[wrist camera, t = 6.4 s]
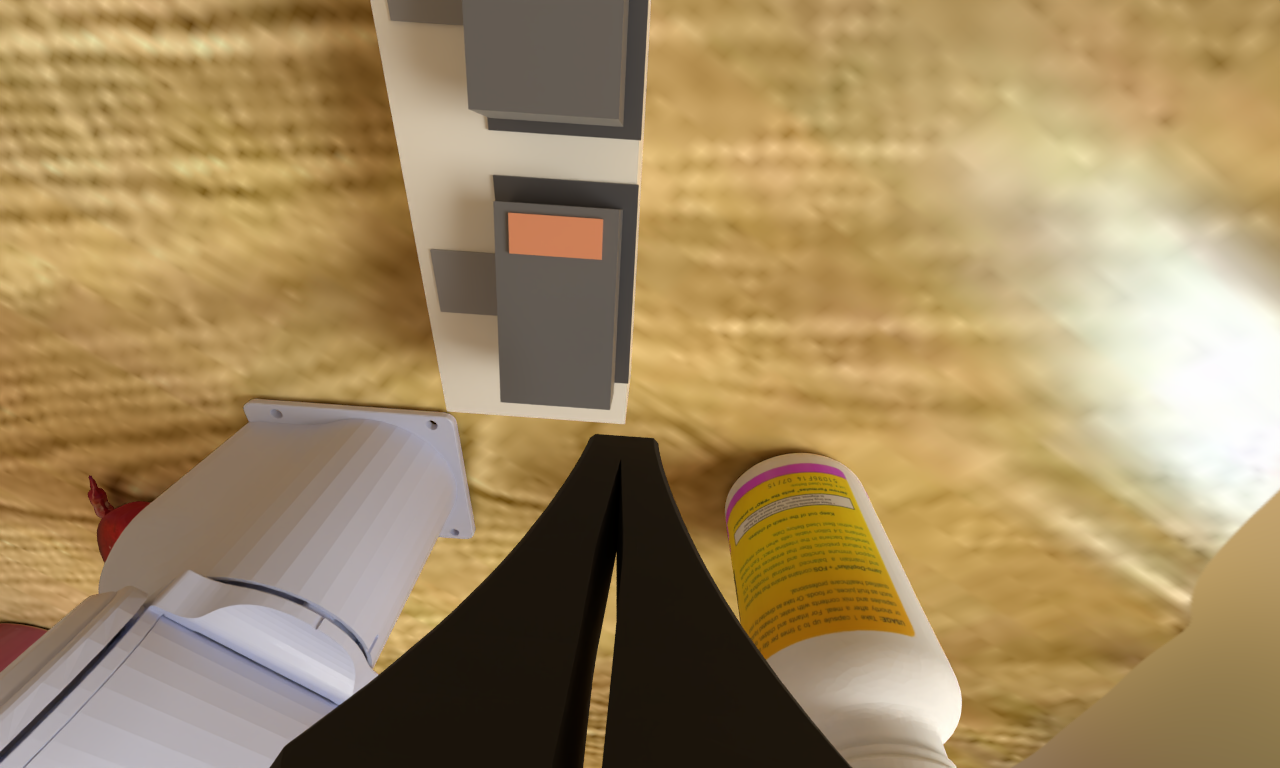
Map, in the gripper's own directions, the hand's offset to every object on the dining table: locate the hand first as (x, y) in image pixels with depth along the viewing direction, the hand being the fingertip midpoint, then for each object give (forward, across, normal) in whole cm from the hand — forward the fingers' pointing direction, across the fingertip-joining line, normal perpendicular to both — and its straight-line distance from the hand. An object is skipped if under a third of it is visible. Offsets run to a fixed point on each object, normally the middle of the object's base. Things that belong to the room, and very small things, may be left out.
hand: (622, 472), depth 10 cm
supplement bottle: (+10, -8, +10) cm, 16 cm away
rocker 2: (+5, +2, -2) cm, 6 cm away
